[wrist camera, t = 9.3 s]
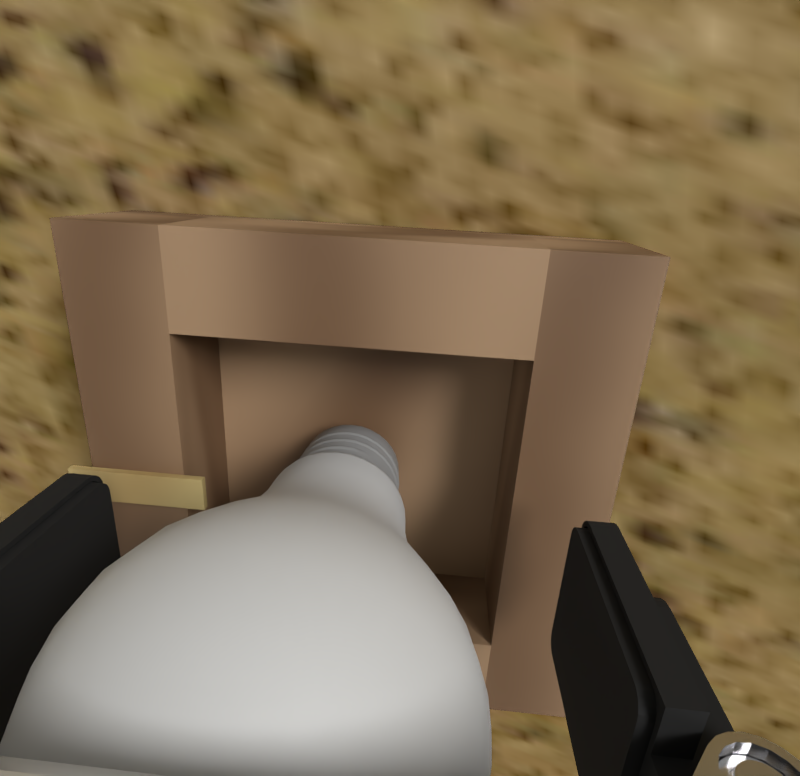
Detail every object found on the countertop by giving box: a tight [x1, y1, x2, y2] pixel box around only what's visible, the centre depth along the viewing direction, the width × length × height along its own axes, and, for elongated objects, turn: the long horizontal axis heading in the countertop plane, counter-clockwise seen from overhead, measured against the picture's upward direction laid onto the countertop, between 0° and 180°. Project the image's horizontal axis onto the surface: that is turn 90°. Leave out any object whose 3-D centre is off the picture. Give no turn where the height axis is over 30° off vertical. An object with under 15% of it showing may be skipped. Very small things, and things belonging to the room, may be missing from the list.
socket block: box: [50, 210, 670, 717], centre depth 14 cm, size 12×12×3 cm
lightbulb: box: [0, 425, 492, 776], centre depth 10 cm, size 6×6×11 cm
